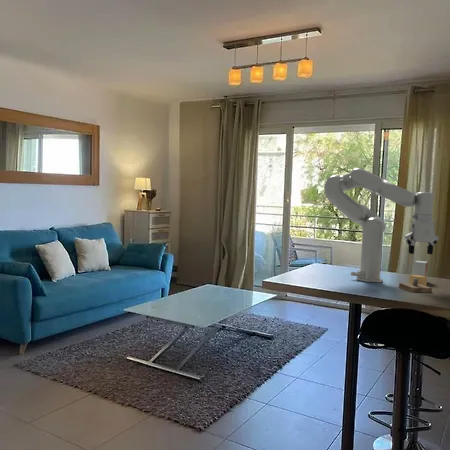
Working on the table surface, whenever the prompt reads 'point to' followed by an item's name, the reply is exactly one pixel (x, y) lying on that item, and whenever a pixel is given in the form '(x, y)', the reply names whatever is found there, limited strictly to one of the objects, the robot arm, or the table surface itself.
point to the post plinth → (415, 287)
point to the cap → (421, 279)
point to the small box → (420, 268)
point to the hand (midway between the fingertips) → (420, 253)
